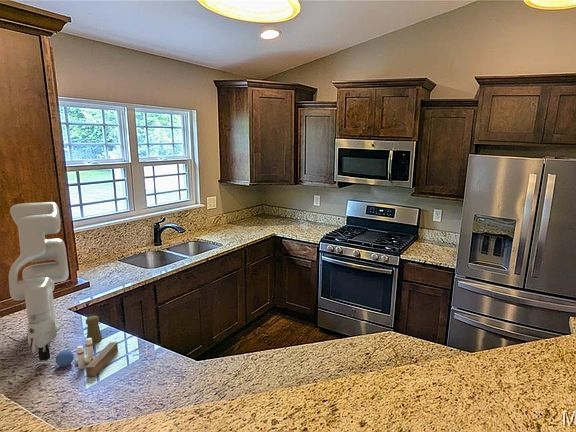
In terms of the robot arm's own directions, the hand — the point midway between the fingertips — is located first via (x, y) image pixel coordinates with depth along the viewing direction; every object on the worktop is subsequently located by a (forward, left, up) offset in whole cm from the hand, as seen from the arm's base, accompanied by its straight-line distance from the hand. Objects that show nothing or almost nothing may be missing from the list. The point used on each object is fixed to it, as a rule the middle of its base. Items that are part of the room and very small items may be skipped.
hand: (44, 359), depth 143 cm
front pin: (+7, +11, 0) cm, 13 cm away
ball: (+6, +7, +2) cm, 9 cm away
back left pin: (+5, +16, -2) cm, 17 cm away
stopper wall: (+11, +20, -2) cm, 23 cm away
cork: (-11, +17, -2) cm, 20 cm away
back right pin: (+11, +13, -2) cm, 17 cm away
